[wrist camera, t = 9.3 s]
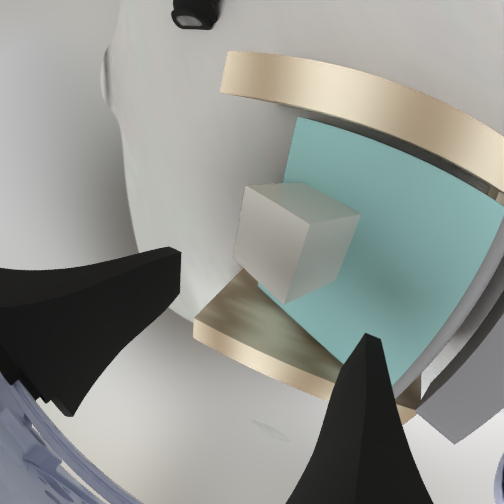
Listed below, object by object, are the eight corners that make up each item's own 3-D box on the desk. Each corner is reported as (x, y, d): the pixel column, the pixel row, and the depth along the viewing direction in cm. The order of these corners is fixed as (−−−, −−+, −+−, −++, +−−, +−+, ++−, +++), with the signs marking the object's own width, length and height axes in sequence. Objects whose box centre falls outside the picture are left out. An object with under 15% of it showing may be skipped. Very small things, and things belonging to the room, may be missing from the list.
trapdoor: (580, 269, 5) (598, 292, 3) (462, 417, 11) (446, 453, 9) (331, 124, 16) (296, 116, 14) (289, 274, 22) (256, 286, 20)
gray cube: (361, 213, 12) (310, 224, 10) (335, 280, 14) (283, 304, 12) (302, 182, 15) (245, 185, 12) (286, 243, 17) (232, 257, 14)
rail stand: (519, 172, 10) (577, 200, 4) (416, 359, 19) (413, 427, 13) (282, 76, 15) (228, 51, 9) (239, 286, 23) (193, 337, 18)
